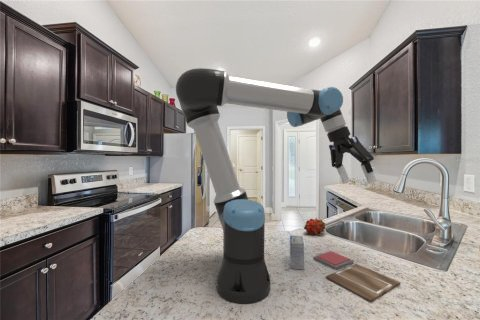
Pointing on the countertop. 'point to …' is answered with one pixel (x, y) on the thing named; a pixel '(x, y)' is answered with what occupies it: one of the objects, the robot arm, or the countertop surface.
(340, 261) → the ink pad
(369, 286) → the cutting board
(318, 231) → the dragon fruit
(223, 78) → the robot arm
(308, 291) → the countertop surface
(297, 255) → the medicine box
